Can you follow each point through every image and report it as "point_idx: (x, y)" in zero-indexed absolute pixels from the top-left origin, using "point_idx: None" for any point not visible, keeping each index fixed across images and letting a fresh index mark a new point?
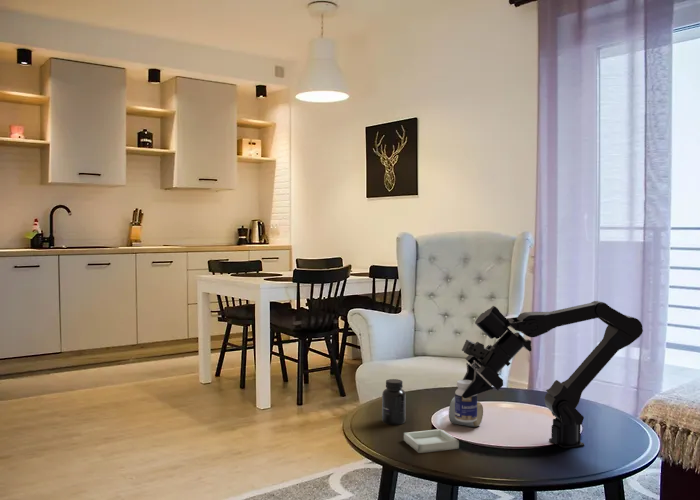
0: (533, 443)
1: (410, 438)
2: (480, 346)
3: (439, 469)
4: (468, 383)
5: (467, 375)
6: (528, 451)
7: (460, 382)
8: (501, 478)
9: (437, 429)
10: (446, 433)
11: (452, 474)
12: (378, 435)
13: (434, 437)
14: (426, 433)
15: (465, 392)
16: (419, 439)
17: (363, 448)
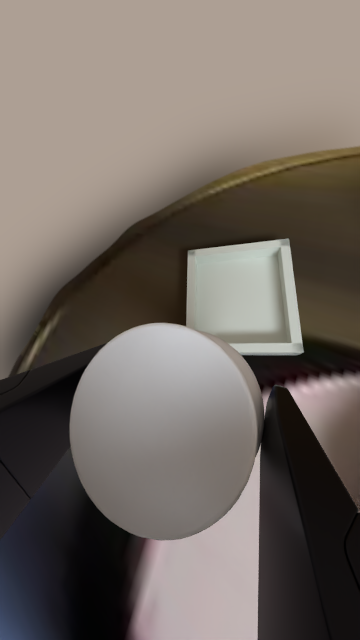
0: (157, 613)
1: (239, 244)
2: None
3: (107, 271)
4: (89, 401)
5: (313, 594)
6: (111, 529)
7: (144, 341)
8: (33, 355)
9: (301, 338)
10: (254, 347)
11: (81, 284)
12: (340, 203)
13: (275, 324)
14: (285, 300)
15: (94, 349)
16: (268, 281)
17: (251, 168)
